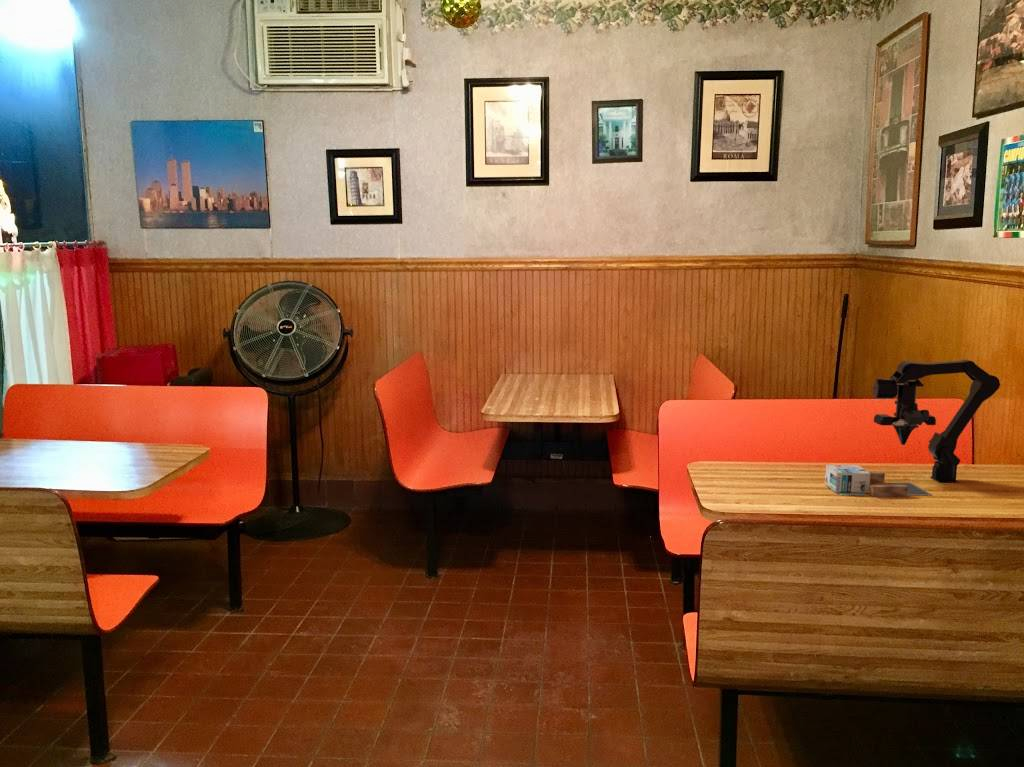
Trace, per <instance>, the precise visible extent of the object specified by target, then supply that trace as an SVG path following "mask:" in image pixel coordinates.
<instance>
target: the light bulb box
mask: <svg viewBox="0 0 1024 767" xmlns="http://www.w3.org/2000/svg"><path fill="white" fill-rule="evenodd" d="M825 466H826V467H825V477H824V484H826V486H827V487H828V488H830V489H831V490H833V491H834V492H835V493H837V492H855V493H865V494H868V493H869V494H870V486H871V484H870V473H869V472H870V471H868V470H866V469H865V468H863V467H862V466H861V465H858V464H856V465H855V464H854V465H852V464H826V465H825Z"/></svg>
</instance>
